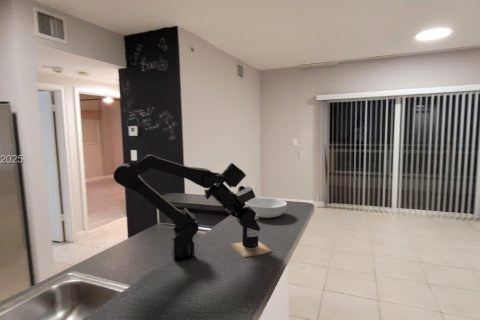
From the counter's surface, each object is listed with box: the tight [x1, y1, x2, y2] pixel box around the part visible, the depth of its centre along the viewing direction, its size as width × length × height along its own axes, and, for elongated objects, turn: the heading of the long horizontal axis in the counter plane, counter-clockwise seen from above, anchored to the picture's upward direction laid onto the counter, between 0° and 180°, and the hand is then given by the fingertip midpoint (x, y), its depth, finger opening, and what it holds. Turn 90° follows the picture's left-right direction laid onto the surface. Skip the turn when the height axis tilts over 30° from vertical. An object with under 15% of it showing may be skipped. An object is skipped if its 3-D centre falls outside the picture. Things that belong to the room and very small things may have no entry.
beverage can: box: [241, 214, 260, 250], centre depth 105 cm, size 6×6×12 cm
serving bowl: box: [244, 197, 288, 219], centre depth 147 cm, size 21×21×7 cm
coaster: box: [230, 240, 273, 258], centre depth 105 cm, size 11×11×1 cm
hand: (254, 225), depth 105 cm, fingers open, 9 cm apart
